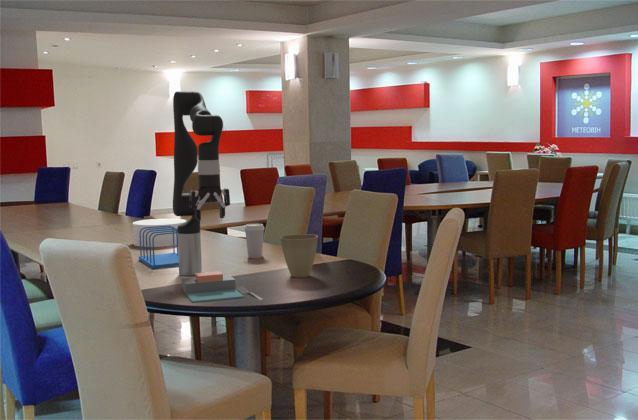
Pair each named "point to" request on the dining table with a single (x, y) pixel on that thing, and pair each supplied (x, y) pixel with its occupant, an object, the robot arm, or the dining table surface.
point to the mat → (214, 295)
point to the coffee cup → (254, 239)
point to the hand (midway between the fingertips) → (210, 219)
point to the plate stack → (159, 239)
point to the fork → (249, 292)
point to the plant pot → (299, 253)
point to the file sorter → (159, 259)
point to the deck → (207, 285)
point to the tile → (209, 276)
